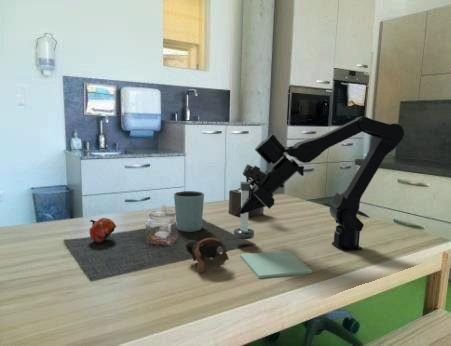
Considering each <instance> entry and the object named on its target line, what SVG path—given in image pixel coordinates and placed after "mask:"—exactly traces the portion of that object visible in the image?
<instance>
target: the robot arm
mask: <svg viewBox="0 0 451 346" xmlns="http://www.w3.org/2000/svg"><path fill="white" fill-rule="evenodd" d="M360 133H364V134H366V135H369V136H371V137H372V138H371V141H370V149H369V151H368V152H367V154H366V155H365V158H364V159H363V161H362V163H361V164H360V166H359V168H358V169H357V171H356V173H355V175H354V176H353V178H352V179H351V181H350V183H349V185H348V187H347V188H346V190H345V191H344V192H342V193H341V194H340V193H339V192H336V193H335V194H334V198H333V200H332V201H331V202H329V205H330V207H329V213H330V216H331V217H332V218H334V221H335V223H336V224H338V225H335V230H334V234H333V235H334V236H333V241H332V242H331V244H332V245H333V246H335V247H336V248H338V249H340V250H341V251H343V252H346V251H347V252H348V251H357V250H358V251H359V250H363V247H362V246H360V235H361V232H362V230H363V228H364V226H365V225H364V223H363V222H362V221H361V220H360V219H359V218H358V212H359V210H360V204H361V199H362V197H363V195H364V194H365V192H366V190H367V189H368V186H369V185H370V183H371V182H372V180H373V179H374V176H375V175H376V173H377V172H378V170H379V168H380V167H381V164H382V163H383V161H384V159H385V158H386V156H387V155H389V153H391V152H392V151H394V150H395V149H396V148H397V147H398V146H399V145H400V143H401V142H402V141H403V140H404V137H405V134H406V133H405V130H404V128H403V126H402V125H400V124H398V123H386V122H383V121H379V120H376V119H375V120H374V119H373V118H369V117H368V116H358V117H355V118H354V119H352V120H351V121H349V122H347V123H345V124H343V125H340V126H339V127H337V128H334V129H332V130H330V131H329V132H326V133H324V134H322V135H319V136H316V137H313V138H309V139H305V140H302V141H301V140H300V141H299V142H296V143H294V145H292V146H290V145H289V146H284V145H283V144H282V143H281V142H280V141H279V140H278V139H277V136H275V134H271V135H270V136H269V137H266V138H265V139H264V140H262V141H261V142H260V143H258V145H257V146H256V147H255V148H254V151H256V153H257V154H258V155H259V156H260V158H262V159H263V160H264V162H266V163H267V164H271V163H272V164H273V166H272V167H271V168H270V169H266V170H265V171H262V170H261V167H259V166H257V165H253V166H252V165H250V164H246V165H245V167H244V170H243V172H242V176H243V177H245V178H246V177H249V178H250V179H251V180H249V182H250V191H249V199H248V200H247V202H246V203H245V204H244V205H243V207H242V208H241V206H240V207H239V210H240V211H239V212H240V213H241V214H244V213H247V212H250V211H252V210H255V209H258V208H262V207H264V208H268V209H271V208H272V207H273V206H274V205H275V198H274V194H275V193H276V192H277V191H278V190H279V189H283V187H285V185H284V184H285V183H287V182H288V180H290V179H291V178H292V177H293V176H294V175H295V174H296V173H297V174H299V175H300V176H301V177H304V175H305V174H304V169H305V166H304V165H299V164H298V163H297V162H296V161H298V162H300V163H303V164H309V163H311V162H312V161H314V160H315V159H317V158H318V157H319V156H320V155H322V154H323V153H324V151H326V150H327V149H329V148H331V147H333V146H335V145H338V144H339V143H342V142H343V141H346V140H348V139H350V138H352V137H354V136H356V135H358V134H360ZM287 156H289V157H291V158H292V157H293V158H292V159H289V158H288V157H287ZM294 159H295V160H294ZM274 164H275V165H274Z"/></svg>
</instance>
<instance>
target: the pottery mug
mask: <svg viewBox="0 0 451 346" xmlns="http://www.w3.org/2000/svg"><path fill="white" fill-rule="evenodd" d="M219 247H221V248H222V252H221V253H220V251H217V250H218V248H219ZM226 247H227V246H226V245H225V243H224V242H222V240H220V239H218V238H215V237H206V238H203V239H202V240H200V241H197V240H195V239H189V240H188V241H187V242H186V243H185V249H186V251H187V252H188V254H189V255H190V256H191V257H192V261H195V262H197V267H196V271H197V272H199V273H201V274H203V273H204V272H205V271H210V270H214V269H218V268H220V267H221V266H223V265H224V264H225V263H226V261H228V260H229V256H228V254H227V252H228V249H227V248H226Z"/></svg>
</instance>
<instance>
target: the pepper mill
mask: <svg viewBox="0 0 451 346" xmlns="http://www.w3.org/2000/svg"><path fill="white" fill-rule="evenodd" d="M245 180H246V181H245V182H249V181H250V180H251V178H249V177H246V176H245ZM228 193H229V194H228V196H229V197H228V198H229V199H228V214H230V215H233V216H237V217H241V213H240V212H239V211H240V210H239V207H240V206H241V189H240V187H239V188H237V189H231V190H229V192H228ZM264 208H265V207H262V208H258V209H255V210H252V211H250V212H248V219H249V217H250V218H254V217H253V216H255V217H258V216H257V215H260V214H263V215H264ZM260 216H261V215H260Z"/></svg>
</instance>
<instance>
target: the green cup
mask: <svg viewBox="0 0 451 346" xmlns="http://www.w3.org/2000/svg"><path fill="white" fill-rule="evenodd" d="M173 199H174V209H175V210H174V211H175V220H176V221H175V222H176V223H177V225H176V229H177V230H178V231H180V232H186V233H187V232H188V233H190V232H198V231H200V230H202V227H203V213H204V212H203V211H204V201H205V200H204V199H205V193H204V192H202V191H195V190H188V191H187V190H186V191H184V190H183V191H179V192H175V193H174V194H173Z"/></svg>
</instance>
